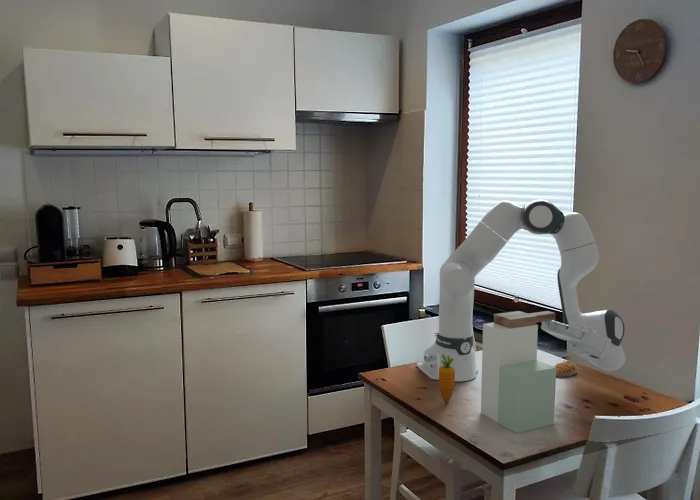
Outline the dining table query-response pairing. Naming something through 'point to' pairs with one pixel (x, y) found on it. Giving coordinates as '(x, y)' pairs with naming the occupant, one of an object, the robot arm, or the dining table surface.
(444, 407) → the dining table surface
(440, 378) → the carrot
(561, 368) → the pastry
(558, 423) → the dining table surface
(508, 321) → the brown block
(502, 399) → the white two-tone stepped block
